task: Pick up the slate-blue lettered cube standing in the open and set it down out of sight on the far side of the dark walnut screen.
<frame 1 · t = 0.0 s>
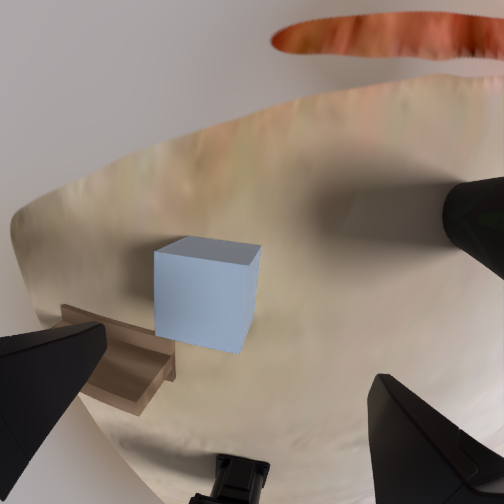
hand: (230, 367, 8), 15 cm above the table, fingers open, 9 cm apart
letter cube: (221, 276, 24), on the table
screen: (114, 340, 27), on the table
cup: (467, 215, 19), on the table
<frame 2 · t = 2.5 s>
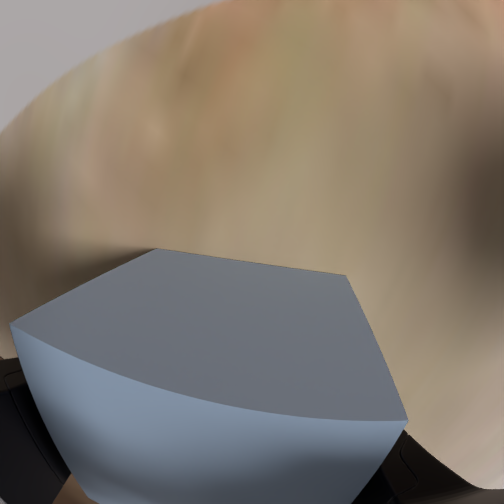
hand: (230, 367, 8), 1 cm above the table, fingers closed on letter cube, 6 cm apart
letter cube: (238, 346, 10), on the table, touching gripper
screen: (58, 416, 13), on the table
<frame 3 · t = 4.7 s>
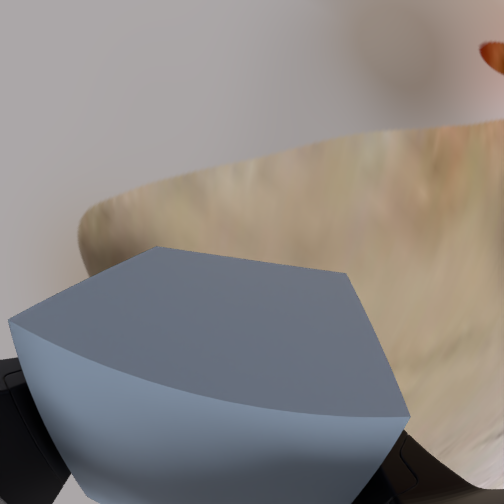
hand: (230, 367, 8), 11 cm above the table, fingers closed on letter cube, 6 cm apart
letter cube: (238, 345, 9), point 10 cm above the table, touching gripper
when the fingers open (2 cm above the table, at t = 7.0 s): letter cube drops 1 cm, on the table.
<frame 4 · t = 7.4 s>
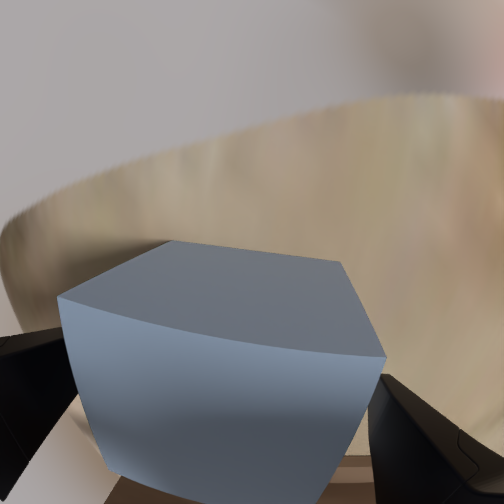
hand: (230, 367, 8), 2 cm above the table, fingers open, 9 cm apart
letter cube: (245, 327, 11), on the table
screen: (264, 473, 13), on the table
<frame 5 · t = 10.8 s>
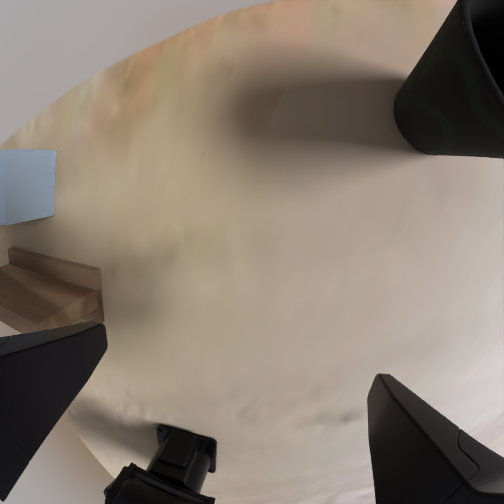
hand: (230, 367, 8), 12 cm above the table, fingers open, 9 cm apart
letter cube: (36, 183, 22), on the table
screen: (50, 280, 24), on the table
cup: (427, 117, 16), on the table
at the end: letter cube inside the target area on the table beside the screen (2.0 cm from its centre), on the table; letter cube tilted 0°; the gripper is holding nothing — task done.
